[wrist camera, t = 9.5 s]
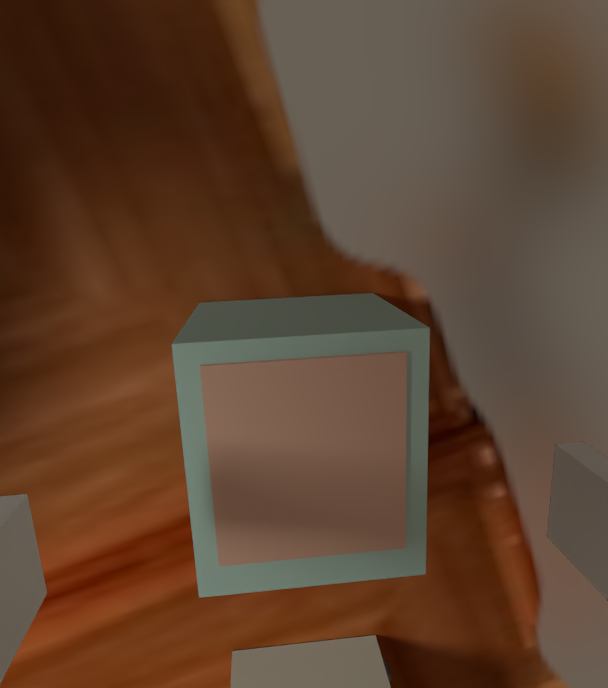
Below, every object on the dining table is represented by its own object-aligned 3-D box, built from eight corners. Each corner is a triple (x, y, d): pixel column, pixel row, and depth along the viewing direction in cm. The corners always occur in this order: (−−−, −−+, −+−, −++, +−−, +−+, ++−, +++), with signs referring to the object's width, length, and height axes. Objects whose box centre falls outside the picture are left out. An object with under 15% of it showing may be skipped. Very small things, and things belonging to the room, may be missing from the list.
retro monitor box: (199, 302, 23) (170, 345, 15) (372, 293, 24) (432, 328, 16) (216, 481, 25) (198, 601, 17) (374, 468, 26) (427, 578, 18)
